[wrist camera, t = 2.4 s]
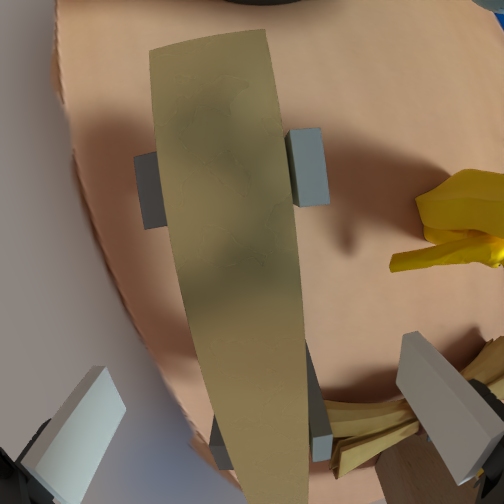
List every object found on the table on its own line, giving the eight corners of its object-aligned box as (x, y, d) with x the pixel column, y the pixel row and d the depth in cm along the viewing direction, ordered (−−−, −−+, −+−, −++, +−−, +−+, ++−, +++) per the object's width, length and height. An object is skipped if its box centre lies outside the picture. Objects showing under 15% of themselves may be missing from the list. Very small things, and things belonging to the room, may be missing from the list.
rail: (182, 90, 12) (149, 50, 7) (261, 77, 12) (264, 28, 7) (252, 461, 18) (251, 510, 13) (301, 456, 18) (308, 505, 13)
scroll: (315, 435, 30) (328, 495, 20) (310, 385, 28) (326, 455, 18) (481, 373, 29) (516, 409, 19) (494, 320, 26) (539, 353, 17)
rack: (191, 125, 22) (127, 71, 9) (278, 112, 22) (302, 40, 9) (238, 393, 28) (230, 493, 15) (306, 385, 28) (327, 483, 15)
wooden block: (388, 431, 30) (434, 539, 11) (442, 415, 30) (496, 503, 11) (371, 466, 33) (401, 559, 13) (421, 452, 32) (459, 532, 13)
